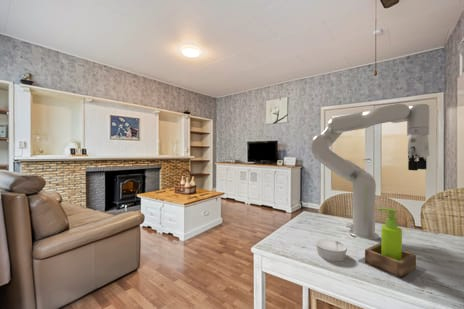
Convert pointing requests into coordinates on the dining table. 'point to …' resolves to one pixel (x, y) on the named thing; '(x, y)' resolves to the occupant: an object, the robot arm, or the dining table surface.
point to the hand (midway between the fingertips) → (417, 169)
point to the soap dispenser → (391, 236)
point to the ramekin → (331, 249)
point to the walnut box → (390, 261)
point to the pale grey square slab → (407, 278)
